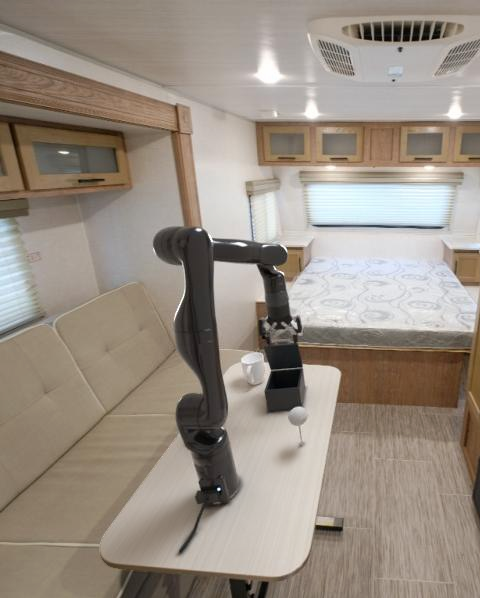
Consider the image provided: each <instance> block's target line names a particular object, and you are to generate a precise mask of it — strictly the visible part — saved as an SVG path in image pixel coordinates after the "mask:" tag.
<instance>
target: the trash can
mask: <svg viewBox="0 0 480 598" xmlns="http://www.w3.org/2000/svg"><path fill="white" fill-rule="evenodd" d="M263 392H264V398H265V404H266V408H267V409H266V410H267V413H279V412H287V411H291V410H292V409H293V408H295V407H303V406H304V400H305V393H306V380H305V373H304V367H303V368H292V369H280V370H270V372H269V376H268V379H267V382H266V384H265V388H264V391H263ZM303 408H304V407H303Z"/></svg>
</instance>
